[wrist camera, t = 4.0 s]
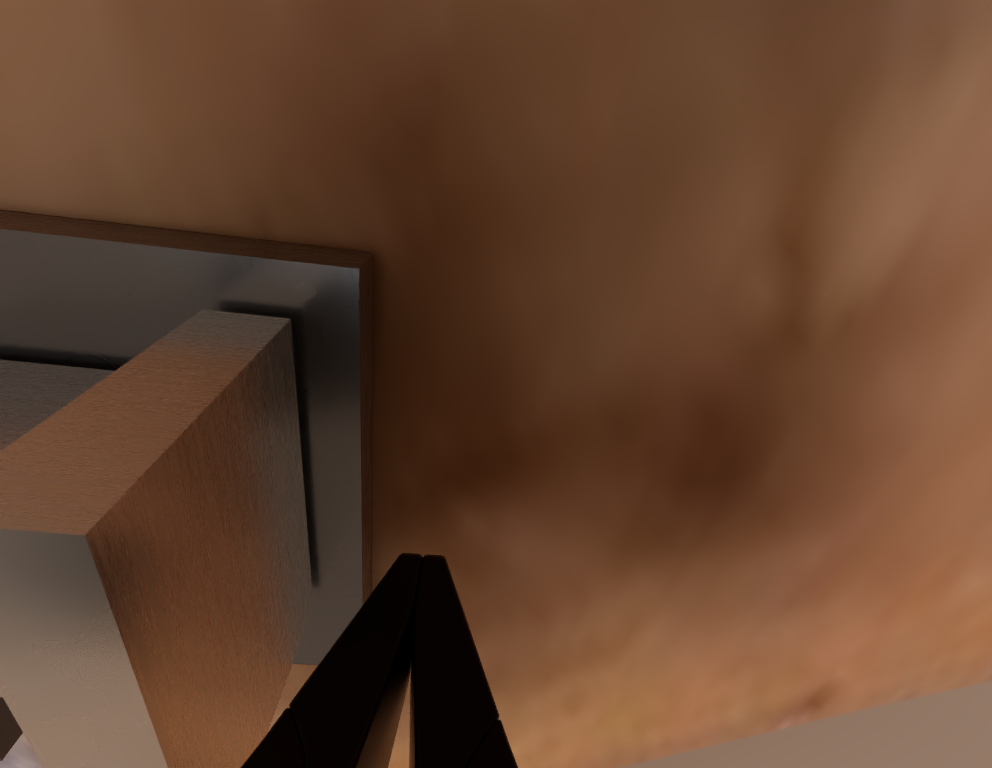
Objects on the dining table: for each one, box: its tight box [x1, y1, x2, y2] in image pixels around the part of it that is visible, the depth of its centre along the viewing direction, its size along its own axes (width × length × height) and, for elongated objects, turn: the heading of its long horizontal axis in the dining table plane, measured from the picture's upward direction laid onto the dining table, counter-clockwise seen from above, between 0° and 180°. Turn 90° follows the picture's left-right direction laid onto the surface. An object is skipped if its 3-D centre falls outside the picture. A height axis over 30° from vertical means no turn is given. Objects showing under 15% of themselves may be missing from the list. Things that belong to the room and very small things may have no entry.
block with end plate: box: [0, 309, 313, 768], centre depth 9 cm, size 8×10×6 cm
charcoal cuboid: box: [0, 697, 23, 761], centre depth 12 cm, size 1×2×2 cm, turn 173°
